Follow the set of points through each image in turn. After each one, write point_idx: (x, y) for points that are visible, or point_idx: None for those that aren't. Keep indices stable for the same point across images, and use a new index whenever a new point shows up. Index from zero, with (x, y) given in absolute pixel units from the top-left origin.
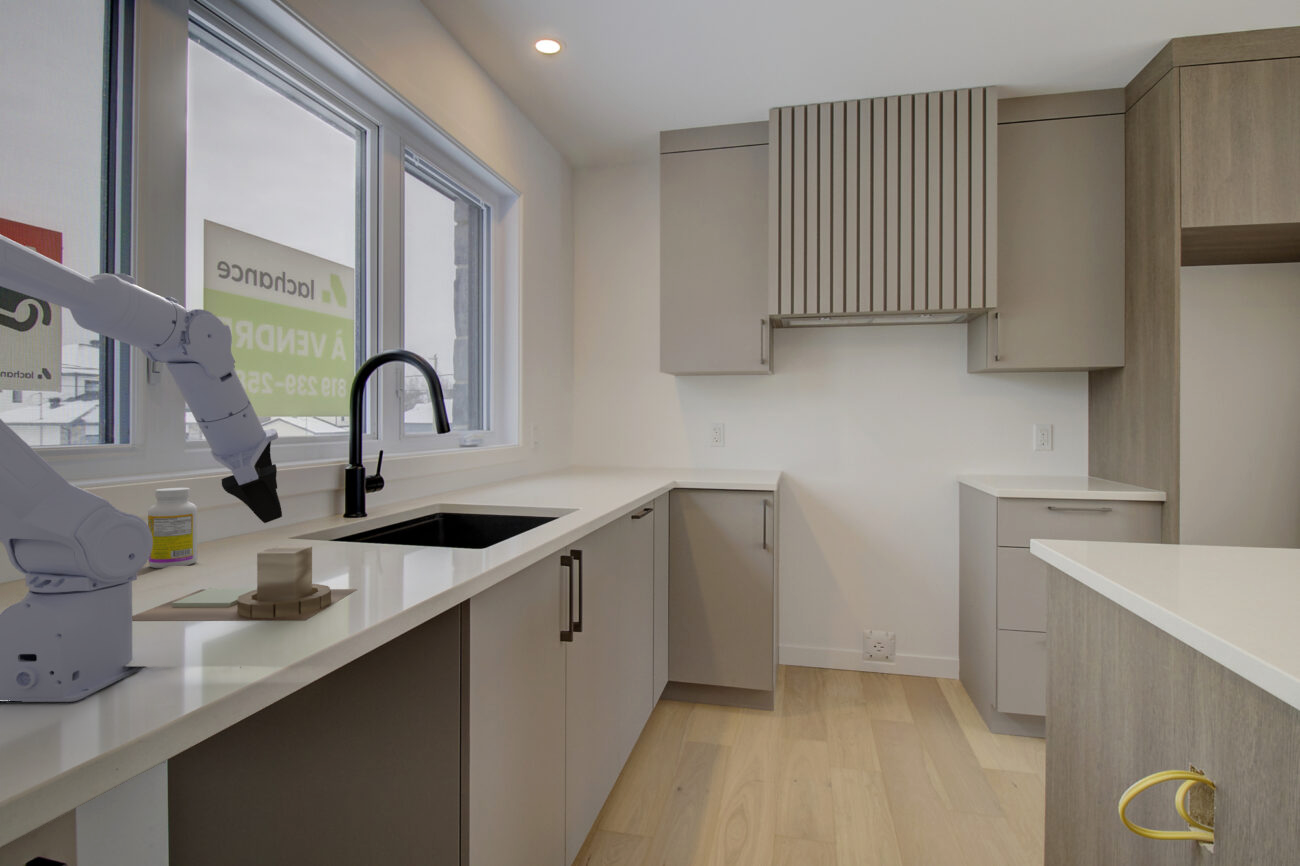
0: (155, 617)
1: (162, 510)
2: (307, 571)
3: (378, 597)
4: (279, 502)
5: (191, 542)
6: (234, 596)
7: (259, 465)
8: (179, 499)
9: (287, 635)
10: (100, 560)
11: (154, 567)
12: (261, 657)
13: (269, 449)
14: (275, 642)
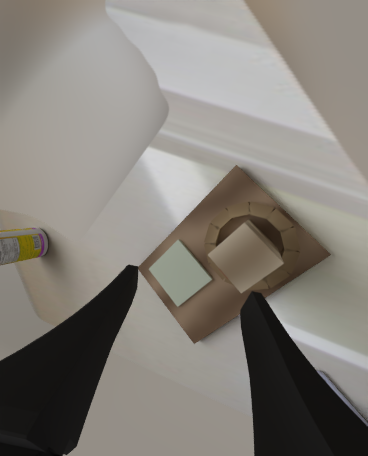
0: (203, 326)
1: None
2: (255, 229)
3: (252, 147)
4: (277, 321)
5: (26, 236)
6: (191, 267)
7: (104, 337)
8: None
9: (328, 270)
10: None
11: (44, 254)
12: None
13: (75, 364)
14: (345, 287)
